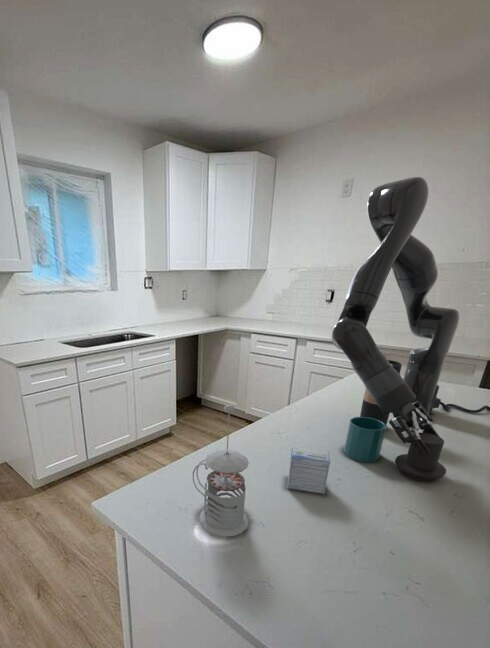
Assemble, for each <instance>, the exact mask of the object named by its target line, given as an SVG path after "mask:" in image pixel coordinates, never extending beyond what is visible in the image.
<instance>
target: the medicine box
mask: <svg viewBox="0 0 490 648" xmlns="http://www.w3.org/2000/svg"><path fill="white" fill-rule="evenodd" d="M330 457H331V456H330V452H329V451H323V450H317V449H308V448H302V447H301V448H300V447H291V452H290V459H289V468H288V476H287V485H286V488H287V489H289V490H296V491H303V492H307V493H308V492H309V493H315V494H322V495H325V492H326V487H327V483H328V482H327V481H328V476H329V471H330V466H331V458H330Z"/></svg>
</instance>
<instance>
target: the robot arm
mask: <svg viewBox="0 0 490 648" xmlns="http://www.w3.org/2000/svg"><path fill="white" fill-rule="evenodd" d="M428 200H429V185H428V182H427V180H426V179H424V177H421V176H414V177H408V178H404V179H400V180H396V181H392V182H387V183H384V184H381V185H378V186H376V187H375V188H374V189H373V190H371V192H370V194H369V196H368V199H367V202H366V203H367V205H366V212H367V217H368V221H369V223H370V226H371V228H372V229H373V231H374V233H375V235H376V236H377V239H378V240H379V242H380V243H379V244H378V246H377V247H376V248H375V249H374V251H372V253H371V254H369V256H368V257H367V258H366V259H365V260H364V261H363V263H361V265H360V266H359V267H358V269H357V270H356V272H355V274H354V276H353V277H352V280H351V282H350V285H349V288H348V290H347V293H346V295H345V299H344V303H343V308H342V310H341V313H340V314H339V317H338V320H337V322H336V323H335V325H334V326H333V328H332V332H331V341H332V344H333V346H334V347H335V348H337V349H338V350H341V351H342V352H343V353H344V354H345V356H346V357H347V359H348V360H349V361H350V364H351V367H352V369H353V371H354V372H355V373H356V375H357V376H358V378H359V379H360V381H361V382H362V384H363V385H364V387H365V389H367V391H368V392H369V394H370V395H371V396H372V398H373V399H374V401H375V402H376V403H377V405H378V406H379V407H380V409H381V410H382V412H383V413H384V414H389V413H390V414H392V415H393V418H391V419H388V422H389V425H390V426H391V428H392V429H393V431H394V432H395V433H396V435H397V437H398V438H399V439H400V441H401V443H403V444H409V445H410V444H411V445H412V446H413V448H414V449H415V451H416V452H417V453H418V455H419V456H420V457H424V456H427V455H429V454H430V453H431V452H430V450H429V449H428V447H427V446H426V445H425V443H424V442H423V440H422V439H420V436H419V433H420V432H419V430H421V431H422V432H421V433H429V434H433V435H436V436H439V437H441V436H440V435H439V433H438V432H437V431H436V429H435V428H434V427H433V426H434V424H433V422H434V418H433V417H432V416H431V414H432V412H433V409H439V408H440V406H441V407H442V409H443V410H444V411H448V410H449V407H452V408H455V409H457V410H461V411H463V412H466V413H469V414H470V413H471V414H477V413H482V412H483V411H484V410H487V411H490V406H489V405H483V406H482V407H481V408H478V409H468V408H465V407H463V406H460V405H458V404H454V403H446V404H445V402H443V401H442V398H438V397H437V396H438V393H439V389H440V385H439V380H440V376H441V373H442V369H443V367H444V364H445V363H444V362H445V360H446V357H447V356H448V354H449V352H450V349H451V345H452V342H453V340H454V337H455V334H456V332H457V329H458V327H459V323H460V313H459V311H458V310H457V309H455V308H450V307H441V306H440V307H439V306H431V305H430V304H429V302H428V299H427V298H428V297H427V296H428V294H429V293H430V292H431V290H432V289H433V287H434V285H436V282H437V279H438V276H439V270H438V266H437V262H436V258H435V255H434V253H433V252H432V250H431V248H430V247H428V245H426V244H425V243H424V242H422V241H421V240H420V239H419V238H417V237H416V236H415V235H413V234H412V233H413V232H414V230H415V228H416V226H417V224H418V223H419V221H420V219H421V217H422V215H423V213H424V211H425V208H426V206H427V203H428ZM391 270H392V273H393V277H394V279H395V282H396V285H397V287H398V289H399V290H400V294H401V297H402V300H403V303H404V306H405V311H406V315H407V321H408V325H409V329H410V331H411V334H412V335H414V336H415V337H418V338H422V339H429V340H431V342H430V344H429V345H427V346H425V347H418V348H413V349H411V350H410V351H409V355H408V358H407V362H406V365H405V370H404V373H403V377H402V375H401V373H400V374H399V373H398V372H397V371H396V370H395V369H394V368H393V367H392V366H391V364H390V363H389V361H388V360H389V359H388V358H386V356H385V355H384V353H383V352H382V351H381V350H380V349H379V347H378V345H377V344H376V342H375V340H374V338H373V337H372V335H371V333H370V331H369V330H368V328H367V326H368V323H369V321H370V320H369V319H370V317H371V314H372V312H373V311H374V309H375V307H376V305H377V303H378V301H379V298H380V296H381V293H382V291H383V288H384V285H385V283H386V281H387V278H388V276H389V274H390V272H391ZM390 414H389V415H390Z"/></svg>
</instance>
